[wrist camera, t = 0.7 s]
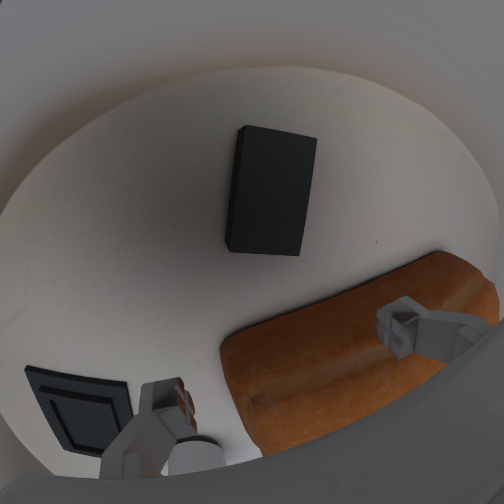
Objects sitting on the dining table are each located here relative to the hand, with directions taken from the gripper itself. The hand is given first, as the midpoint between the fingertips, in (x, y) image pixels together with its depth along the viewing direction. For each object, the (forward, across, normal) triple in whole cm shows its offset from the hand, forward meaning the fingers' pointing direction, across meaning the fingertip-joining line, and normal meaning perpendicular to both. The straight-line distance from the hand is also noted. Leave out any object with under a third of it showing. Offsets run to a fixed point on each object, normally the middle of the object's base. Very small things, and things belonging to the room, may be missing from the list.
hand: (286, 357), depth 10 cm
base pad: (+16, +25, +18) cm, 35 cm away
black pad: (+16, -4, -4) cm, 17 cm away
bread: (+16, -12, +15) cm, 25 cm away
